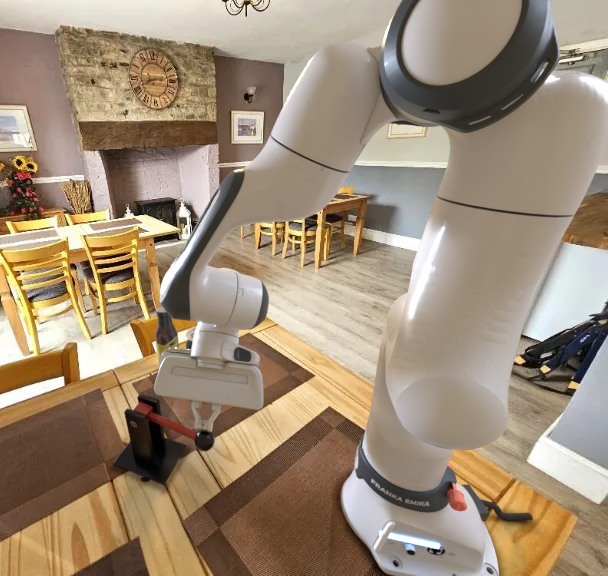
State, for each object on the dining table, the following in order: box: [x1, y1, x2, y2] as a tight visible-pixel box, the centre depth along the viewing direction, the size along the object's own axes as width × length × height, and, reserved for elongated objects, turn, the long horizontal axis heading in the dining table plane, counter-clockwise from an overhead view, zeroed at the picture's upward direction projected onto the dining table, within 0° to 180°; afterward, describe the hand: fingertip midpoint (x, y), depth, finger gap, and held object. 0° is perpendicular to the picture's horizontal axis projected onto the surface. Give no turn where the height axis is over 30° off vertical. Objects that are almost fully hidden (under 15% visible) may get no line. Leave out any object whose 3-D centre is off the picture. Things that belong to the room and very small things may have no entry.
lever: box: [133, 402, 216, 453], centre depth 57 cm, size 16×4×4 cm, turn 68°
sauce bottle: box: [154, 305, 180, 370], centre depth 86 cm, size 6×6×20 cm
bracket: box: [112, 393, 188, 486], centre depth 61 cm, size 12×9×15 cm
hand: (203, 430), depth 55 cm, fingers closed
